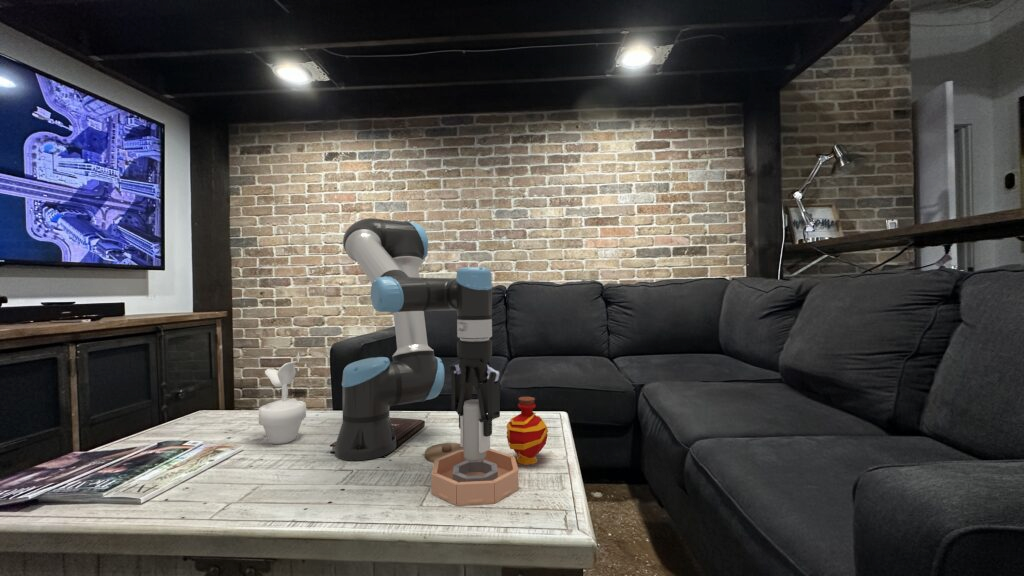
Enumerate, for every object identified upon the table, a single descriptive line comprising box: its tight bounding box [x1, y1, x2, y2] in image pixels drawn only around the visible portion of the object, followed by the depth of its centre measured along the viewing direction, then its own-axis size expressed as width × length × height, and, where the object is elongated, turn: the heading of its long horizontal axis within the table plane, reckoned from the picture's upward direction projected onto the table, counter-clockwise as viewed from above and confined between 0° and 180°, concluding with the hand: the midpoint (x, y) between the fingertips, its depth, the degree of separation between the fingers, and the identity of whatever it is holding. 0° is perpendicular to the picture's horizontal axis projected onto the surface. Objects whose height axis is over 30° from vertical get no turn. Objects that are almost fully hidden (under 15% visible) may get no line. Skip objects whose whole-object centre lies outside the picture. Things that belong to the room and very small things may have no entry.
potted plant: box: [258, 350, 308, 445], centre depth 116 cm, size 13×12×25 cm
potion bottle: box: [506, 396, 549, 466], centre depth 102 cm, size 10×10×15 cm
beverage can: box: [463, 398, 486, 462], centre depth 89 cm, size 5×5×12 cm
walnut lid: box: [424, 442, 464, 464], centre depth 105 cm, size 11×11×3 cm
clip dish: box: [431, 448, 519, 506], centre depth 89 cm, size 18×18×4 cm
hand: (475, 447), depth 89 cm, fingers closed on beverage can, 5 cm apart
